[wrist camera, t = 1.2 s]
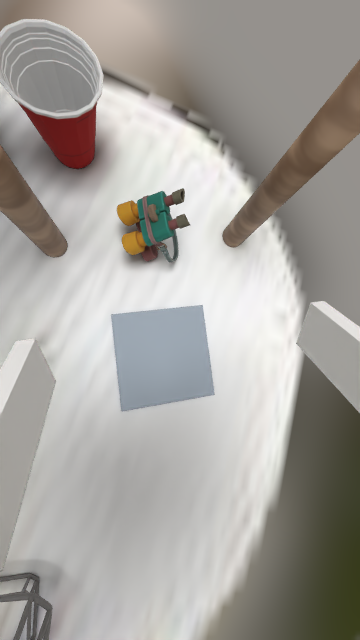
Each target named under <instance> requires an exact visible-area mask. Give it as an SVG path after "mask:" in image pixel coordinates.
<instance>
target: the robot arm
mask: <svg viewBox="0 0 360 640" xmlns="http://www.w3.org/2000/svg"><path fill="white" fill-rule="evenodd" d="M296 344H297V345H298V346H299V347H300V348H301V349H302V350H303V351H304V353H305V354H306V355H307V356H308V357H309V358H310V359H311V360H312V361H313V362H314V363H315V364H316V366H317V367H318V368H319V369H320V370H321V371H322V372H323V373H324V374H325V375H326V376H327V378H328V379H329V380H330V381H331V382H332V383H333V384H334V385H335V386H336V387H337V389H338V390H339V391H340V392H341V393H342V394H343V395H344V396H345V397H346V398H347V399H348V401H349V402H350V403H351V404H352V405H353V406H354V407H355V408H356V409H357V410H358V411H359V413H360V327H359V326H357V325H356V324H355V323H353V322H352V321H350V320H349V319H348V318H346V317H345V316H343V315H342V314H341V313H340V312H338V311H337V310H335V309H334V308H333V307H331V306H330V305H329V304H327V303H326V302H325V301H320V302H313V303H310V306H309V309H308V312H307V314H306V317H305V320H304V323H303V326H302V329H301V331H300V334H299V337H298V340H297V343H296ZM55 383H56V380H55V378H54V376H53V374H52V372H51V370H50V368H49V366H48V364H47V361H46V359H45V357H44V355H43V353H42V351H41V349H40V347H39V345H38V343H37V340H36V338H34V339H27V340H19V341H16V342H15V344H14V345H13V347H12V349H11V351H10V353H9V354H8V356H7V358H6V360H5V362H4V363H3V365H2V367H1V369H0V571H3V568H4V564H5V561H6V557H7V554H8V550H9V547H10V543H11V539H12V536H13V532H14V529H15V525H16V522H17V518H18V515H19V511H20V507H21V504H22V500H23V497H24V493H25V490H26V486H27V483H28V479H29V475H30V472H31V468H32V465H33V461H34V458H35V454H36V450H37V447H38V443H39V440H40V436H41V433H42V429H43V426H44V422H45V418H46V415H47V411H48V408H49V404H50V401H51V397H52V394H53V390H54V386H55Z"/></svg>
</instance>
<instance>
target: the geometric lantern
mask: <svg viewBox="0 0 360 640" xmlns="http://www.w3.org/2000/svg"><path fill="white" fill-rule="evenodd" d="M22 578H27V580H26V582H25V585H24V587H23V589H22V591H21V592H16V593H10V594H4V595H0V602H9V601H21V600H28V601H27V604H26V606H25V609H24V612H23V615H22V617H21V620H20V623H19V626H18V628H17V631H16V634H15V636H14V639H13V640H19V639H20V636H21V633H22V631H23V628H24V625H25V622H26V619H27V616H28V619H27V640H35V637H36V623H37V605H40V606H41V607H43V608H44V609H46V610H47V612H46V615H45V618H44V621H43V624H42V627H41V629H40V632H39V635H38V638H37V640H42V639H43V640H48V639H49V631H50V624H51V616H52V609H53V608H52V605H51V604H50V603H49V602H48V601H46V600H45V599H43V598H42V597H40V596H39V595H38V587H39V577H37V576H35V575H33V574H31V573H28V574H22V575H15V576H9V577H2V578H0V582H3V581H9V580H15V579H22ZM30 578H31V579H33V580H35V582H34V584H33V587H32V590H31V592H30V593H29V592H28V591H26V588H27V585H28V583H29V580H30ZM34 590H35V593H34ZM33 601H34V619H33V635H32V637H31V638H30V633H31V608H32V602H33ZM43 636H44V638H43Z"/></svg>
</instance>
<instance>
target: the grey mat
mask: <svg viewBox="0 0 360 640" xmlns="http://www.w3.org/2000/svg"><path fill="white" fill-rule="evenodd" d="M111 317H112V327H113V336H114V345H115V355H116V364H117V373H118V382H119V392H120V401H121V410H122V411H127V410H133V409H138V408H144V407H149V406H155V405H160V404H166V403H171V402H177V401H182V400H188V399H194V398H199V397H205V396H210V395H215V394H214V387H213V380H212V372H211V365H210V357H209V350H208V342H207V335H206V327H205V320H204V312H203V305H199V306H189V307H180V308H170V309H160V310H151V311H141V312H131V313H122V314H112V315H111Z"/></svg>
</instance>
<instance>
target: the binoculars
mask: <svg viewBox="0 0 360 640" xmlns="http://www.w3.org/2000/svg"><path fill="white" fill-rule="evenodd" d="M184 196H185V191H184V189H183V188H182V189H180V190H177V191H175V192H173V193H172V195H169V196H166V194H165V193H164V192H163V191H161V192H158V193H155V194H153V195H150V196H145V197H143V198H142V199H139V200H138V201H137V203H136V204H135V203H134V202H133V201H129V202H126V203H123V204H120V205H118V207H117V214H118V216H119V218H120V220H121V221H122V222H123V223H124V224H125V225H127V226H131V225H133V224H135V223H136V226H137V228H138V230H139V231H134V232H131V233H127V234H124V235H123V237H122V244H123V247H124V249H125V250H126V251H127V252H128V253H129V254H130V255H136V254H138V253H140V252H141V254H142V257H143V258H144V260H145V261H150V260H152V259H154V258H157V255H158V253H157V249H158V247H159V246H162V245H165V244H163V243H161V241H163V240H165V239H167V238H170V237H172V236H173V242H174V257H173V259H171V257H170V256H169V253H168V251H167V246H166V245H165V246H166V247H165V246H163V247H160V249H158V250H161V251H162V252H163V254H164V256H165V258H166V259H167V261H168V262H173V261H175V260H176V259H177V257H178V242H177V236H176V231H175V229H177V228H180V229H181V228H183V227H186V226H189V225H190V224H189V222H188V220H187V218H186V216H185V214H183V215H180V216H177V217H176V219H173V220H172V217H171V215H170V208H169V206H171V205H174V204H176V205H177V204H180V203H182V202H184ZM155 244H156V245H157V246H156V245H155ZM156 247H157V248H156Z"/></svg>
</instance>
